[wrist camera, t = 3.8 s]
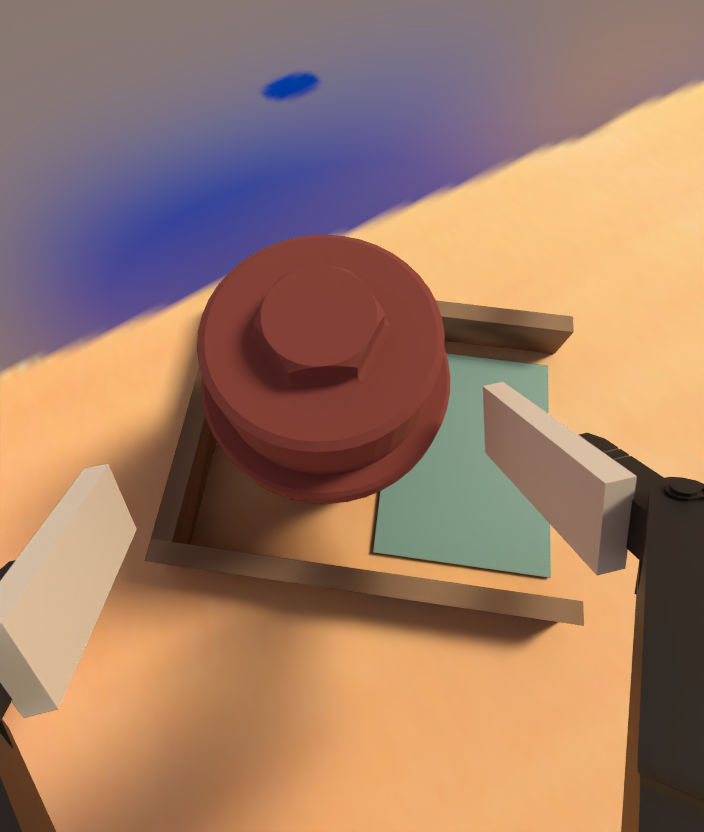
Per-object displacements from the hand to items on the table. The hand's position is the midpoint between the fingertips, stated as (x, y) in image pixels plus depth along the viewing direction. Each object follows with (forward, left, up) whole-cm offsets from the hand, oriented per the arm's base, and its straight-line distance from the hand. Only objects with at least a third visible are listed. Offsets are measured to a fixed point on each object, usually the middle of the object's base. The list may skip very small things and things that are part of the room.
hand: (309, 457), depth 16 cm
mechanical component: (0, -4, -9) cm, 10 cm away
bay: (-2, -4, -9) cm, 10 cm away
